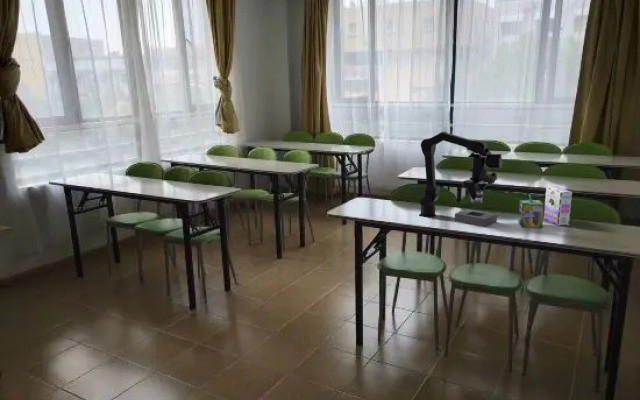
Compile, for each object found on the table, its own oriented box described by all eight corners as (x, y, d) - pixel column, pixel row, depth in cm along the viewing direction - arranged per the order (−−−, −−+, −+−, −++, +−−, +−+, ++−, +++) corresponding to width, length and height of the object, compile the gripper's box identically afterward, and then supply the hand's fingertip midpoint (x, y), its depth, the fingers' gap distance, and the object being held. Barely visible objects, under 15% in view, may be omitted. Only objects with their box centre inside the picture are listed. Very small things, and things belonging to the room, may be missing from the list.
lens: (468, 202, 238) (469, 190, 237) (473, 200, 242) (474, 188, 241) (479, 203, 235) (479, 191, 233) (484, 201, 238) (485, 189, 237)
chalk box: (542, 228, 228) (545, 197, 225) (521, 227, 230) (524, 196, 226) (537, 223, 237) (540, 193, 234) (517, 222, 238) (519, 192, 235)
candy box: (569, 225, 232) (573, 191, 228) (557, 226, 231) (560, 192, 228) (554, 218, 245) (557, 185, 241) (542, 218, 245) (545, 186, 241)
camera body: (454, 221, 242) (454, 213, 241) (466, 216, 250) (466, 209, 249) (485, 227, 231) (485, 219, 230) (496, 222, 239) (497, 214, 238)
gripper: (485, 171, 223) (483, 204, 226) (503, 166, 236) (501, 198, 239) (462, 168, 230) (461, 201, 234) (481, 164, 243) (479, 195, 247)
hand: (476, 199), depth 238 cm, fingers closed on lens, 6 cm apart
